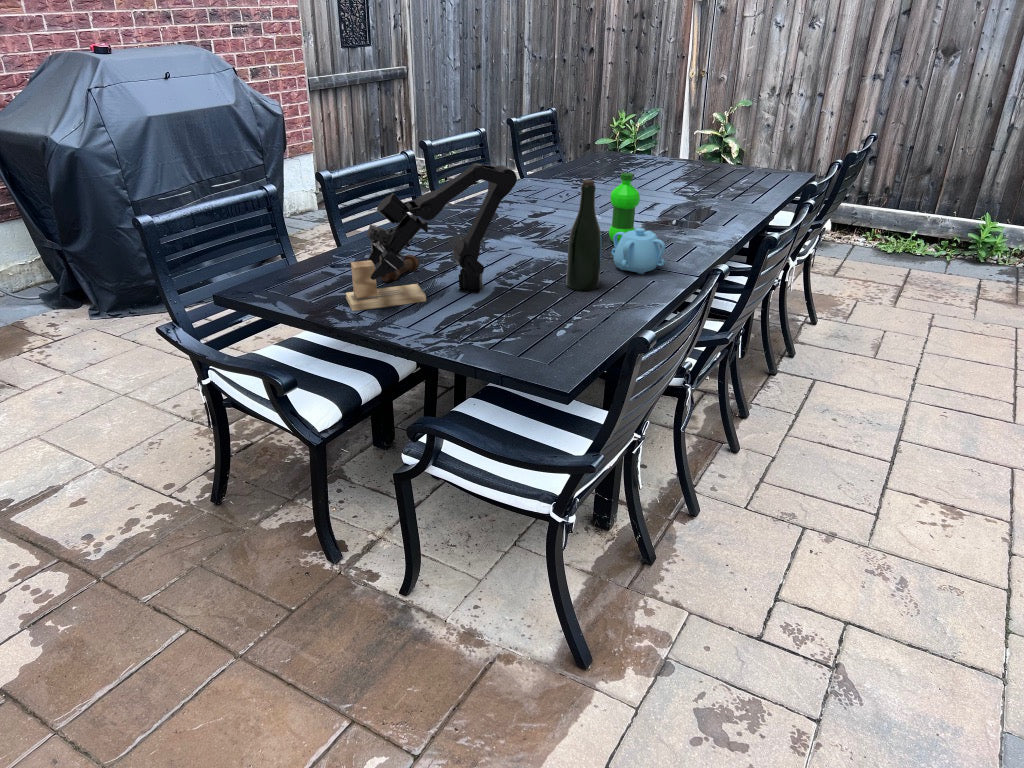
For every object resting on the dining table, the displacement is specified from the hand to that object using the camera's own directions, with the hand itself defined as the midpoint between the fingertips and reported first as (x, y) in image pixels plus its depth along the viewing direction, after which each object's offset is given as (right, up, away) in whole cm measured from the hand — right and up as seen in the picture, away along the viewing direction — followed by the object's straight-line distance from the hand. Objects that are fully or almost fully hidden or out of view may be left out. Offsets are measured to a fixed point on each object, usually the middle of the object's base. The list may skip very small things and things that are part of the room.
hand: (368, 273), depth 216 cm
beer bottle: (+64, -1, +18) cm, 67 cm away
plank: (+4, -7, +6) cm, 10 cm away
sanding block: (-1, -6, +3) cm, 7 cm away
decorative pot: (+84, +7, +33) cm, 90 cm away
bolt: (+5, +3, +24) cm, 25 cm away
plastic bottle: (+82, +20, +57) cm, 102 cm away
